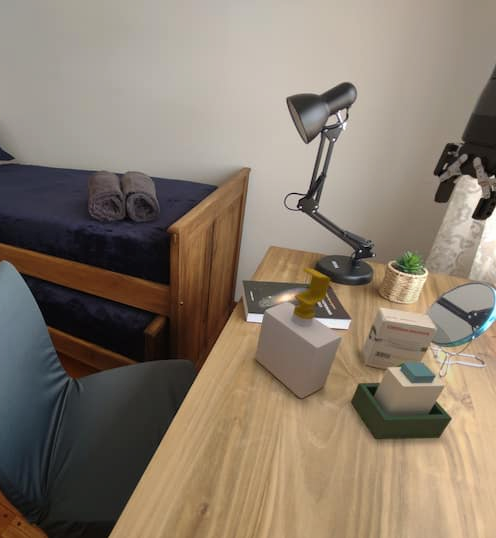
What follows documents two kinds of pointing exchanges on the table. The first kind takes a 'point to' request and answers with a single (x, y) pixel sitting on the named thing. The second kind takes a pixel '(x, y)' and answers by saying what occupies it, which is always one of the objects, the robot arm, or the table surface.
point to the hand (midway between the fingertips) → (458, 210)
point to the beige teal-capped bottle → (408, 390)
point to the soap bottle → (298, 340)
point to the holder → (397, 417)
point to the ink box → (397, 338)
